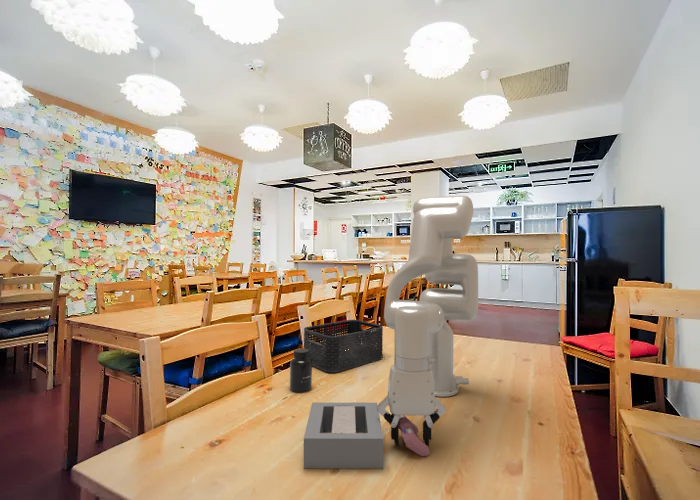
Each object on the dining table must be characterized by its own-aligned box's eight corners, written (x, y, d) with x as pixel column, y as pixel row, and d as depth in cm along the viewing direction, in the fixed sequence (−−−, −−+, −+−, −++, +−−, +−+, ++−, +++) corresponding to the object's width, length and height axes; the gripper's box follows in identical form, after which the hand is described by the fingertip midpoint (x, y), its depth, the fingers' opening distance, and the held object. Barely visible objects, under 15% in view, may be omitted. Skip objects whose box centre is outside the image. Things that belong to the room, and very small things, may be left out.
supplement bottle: (307, 394, 103) (307, 354, 103) (286, 392, 105) (286, 353, 105) (314, 385, 110) (314, 348, 110) (294, 383, 112) (294, 346, 112)
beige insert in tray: (354, 411, 83) (354, 405, 83) (355, 441, 70) (355, 434, 70) (334, 411, 83) (334, 405, 83) (331, 441, 70) (331, 434, 70)
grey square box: (376, 426, 85) (376, 402, 85) (383, 468, 69) (383, 438, 69) (312, 426, 85) (312, 402, 85) (303, 468, 69) (303, 438, 69)
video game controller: (401, 439, 82) (389, 414, 81) (418, 430, 82) (406, 404, 82) (413, 466, 72) (398, 437, 71) (432, 455, 72) (418, 426, 72)
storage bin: (354, 348, 152) (354, 318, 152) (386, 358, 138) (386, 325, 138) (299, 362, 133) (300, 327, 133) (331, 376, 119) (331, 337, 119)
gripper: (445, 356, 80) (444, 433, 80) (371, 356, 80) (371, 433, 80) (455, 368, 73) (454, 452, 73) (374, 367, 73) (373, 452, 73)
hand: (410, 441), depth 77 cm, fingers closed on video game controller, 6 cm apart
